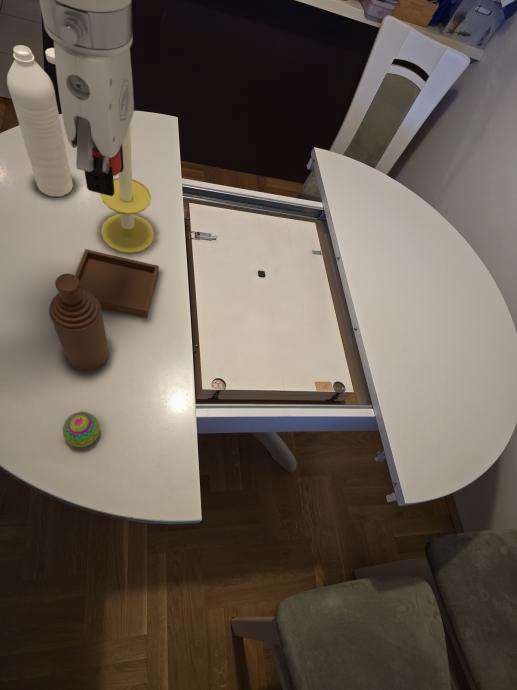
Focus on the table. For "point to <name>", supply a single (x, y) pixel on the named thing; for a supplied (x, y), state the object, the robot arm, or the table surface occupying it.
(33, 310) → the table surface
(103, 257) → the tray
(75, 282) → the bottle
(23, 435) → the table surface
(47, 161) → the white ribbed tube
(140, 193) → the candle
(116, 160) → the cap
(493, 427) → the table surface
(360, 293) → the table surface
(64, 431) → the egg
